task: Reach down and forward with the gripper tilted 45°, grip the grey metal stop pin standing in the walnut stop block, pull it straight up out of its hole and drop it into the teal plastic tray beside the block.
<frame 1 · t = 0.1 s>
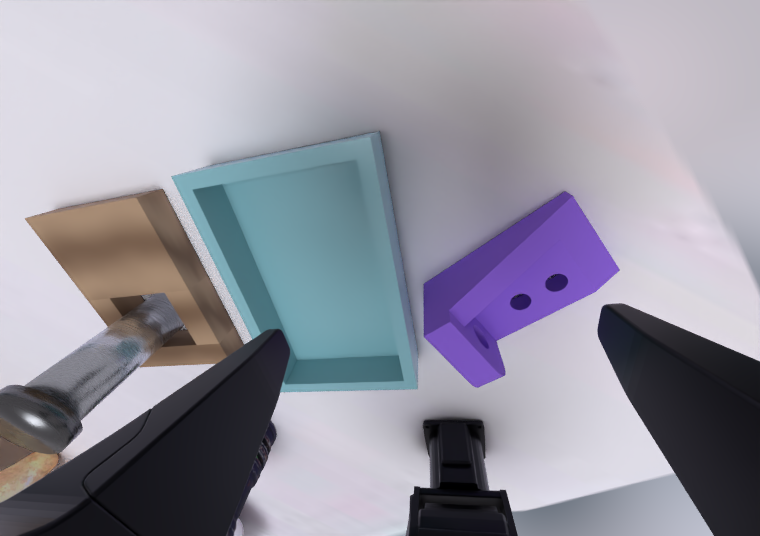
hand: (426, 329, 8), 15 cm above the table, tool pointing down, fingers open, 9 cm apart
tray: (327, 272, 25), on the table
stop pin: (115, 353, 24), in the stop block
bracket: (509, 270, 24), on the table
decorative bowl: (6, 452, 53), on the table
storage jar: (241, 424, 39), on the table
stop block: (173, 306, 30), on the table
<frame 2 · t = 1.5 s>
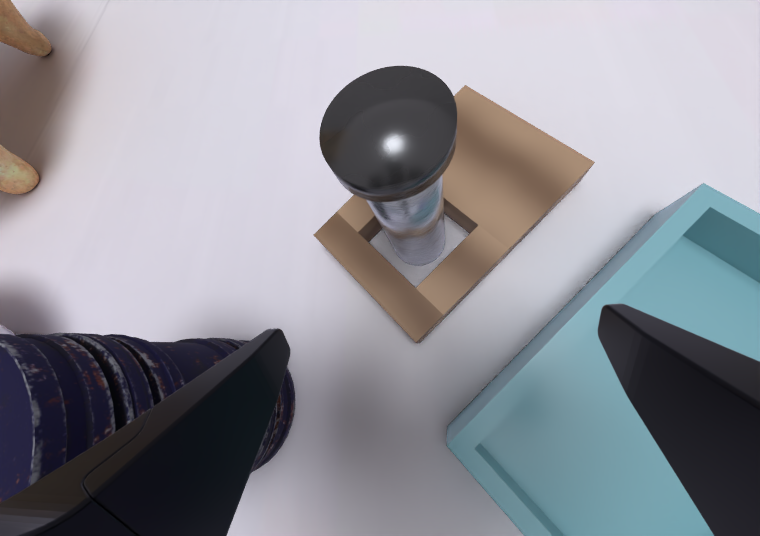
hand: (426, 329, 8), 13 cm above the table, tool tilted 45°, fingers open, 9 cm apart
tray: (647, 397, 18), on the table
stop pin: (408, 203, 17), in the stop block
decorative bowl: (6, 139, 40), on the table
storage jar: (240, 403, 23), on the table
stop block: (418, 240, 23), on the table
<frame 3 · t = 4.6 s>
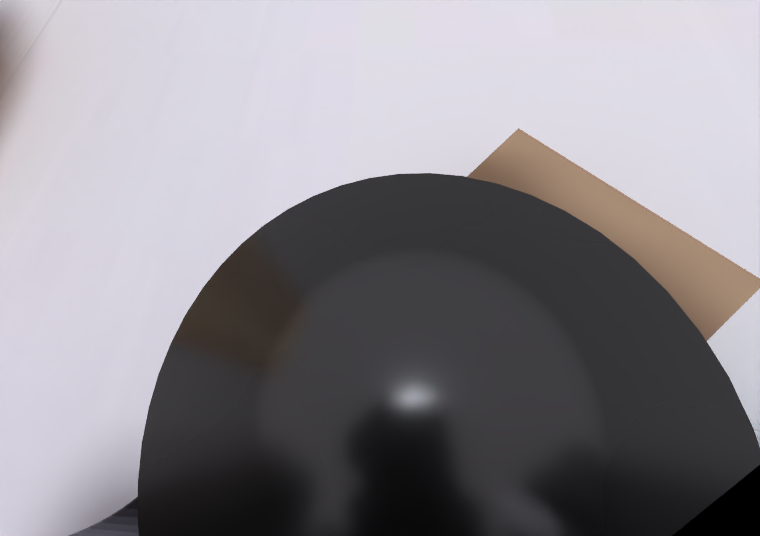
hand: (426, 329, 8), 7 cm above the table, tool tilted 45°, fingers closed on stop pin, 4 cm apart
stop pin: (431, 379, 9), in the stop block, touching gripper
stop block: (439, 369, 15), on the table
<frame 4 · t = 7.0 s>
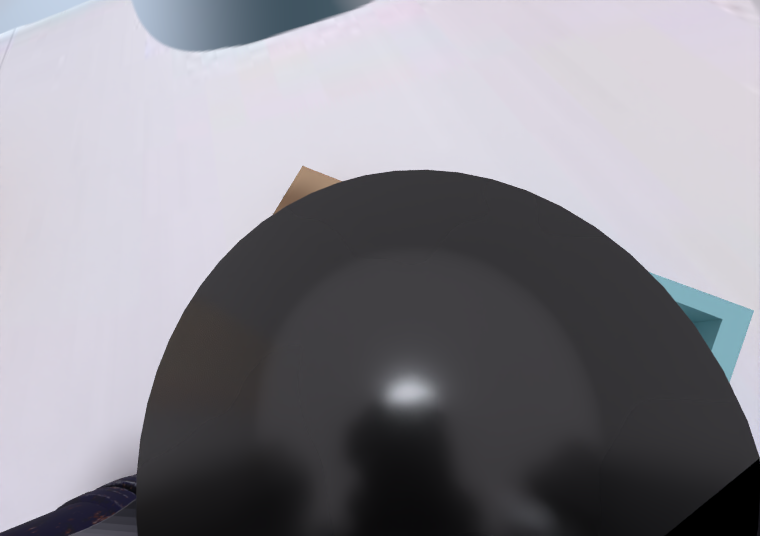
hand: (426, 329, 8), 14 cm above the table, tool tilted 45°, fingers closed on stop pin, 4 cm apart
tray: (519, 410, 19), on the table
stop pin: (431, 377, 9), point 13 cm above the table, touching gripper
stop block: (300, 315, 24), on the table
when the fingers open (10 cm above the table, at t = 8.5 s): stop pin drops 2 cm, resting on tray.
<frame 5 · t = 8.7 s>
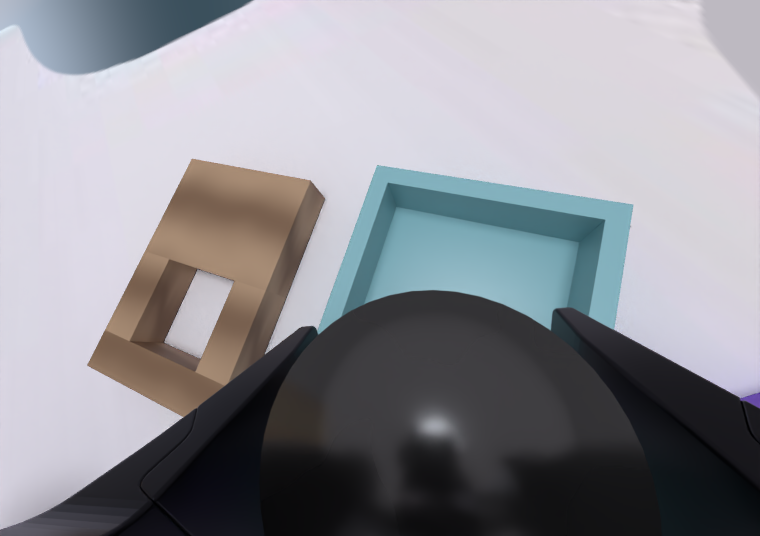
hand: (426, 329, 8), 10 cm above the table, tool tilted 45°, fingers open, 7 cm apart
tray: (441, 367, 17), on the table
stop pin: (439, 391, 10), in the tray, point 8 cm above the table
stop block: (209, 315, 22), on the table
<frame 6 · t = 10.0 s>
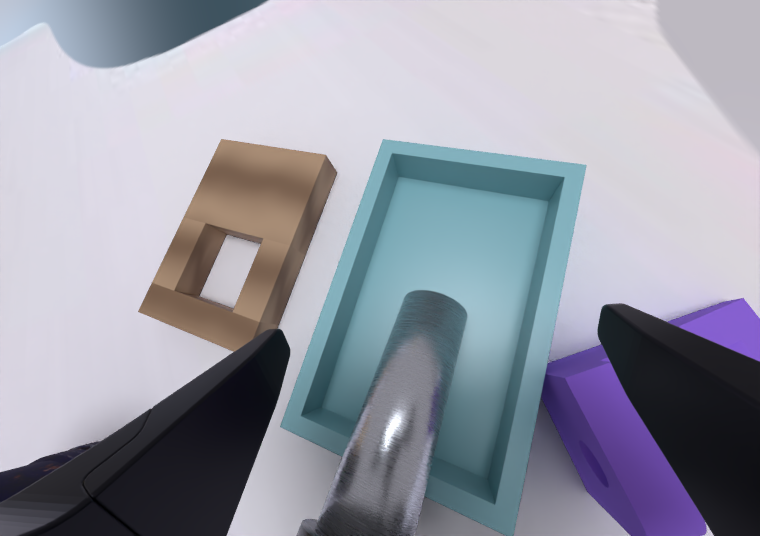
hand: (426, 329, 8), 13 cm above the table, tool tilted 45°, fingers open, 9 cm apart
tray: (436, 305, 21), on the table
stop pin: (400, 417, 15), resting on tray, tilted 69°
bracket: (652, 393, 18), on the table
storage jar: (131, 502, 23), on the table
stop block: (239, 272, 26), on the table
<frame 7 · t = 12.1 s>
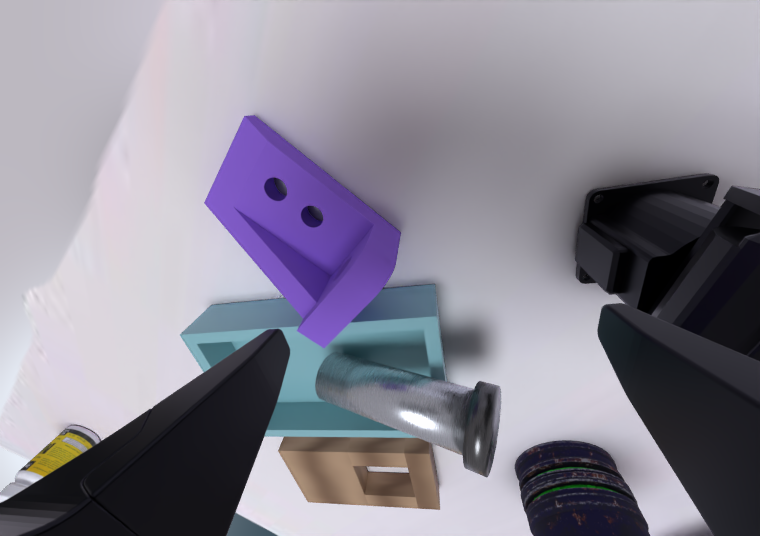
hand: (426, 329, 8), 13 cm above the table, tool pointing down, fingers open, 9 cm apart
tray: (334, 352, 28), on the table
stop pin: (400, 398, 22), resting on tray, tilted 69°
bracket: (309, 212, 22), on the table
supplement bottle: (86, 433, 42), on the table
storage jar: (561, 465, 32), on the table
stop block: (387, 458, 35), on the table
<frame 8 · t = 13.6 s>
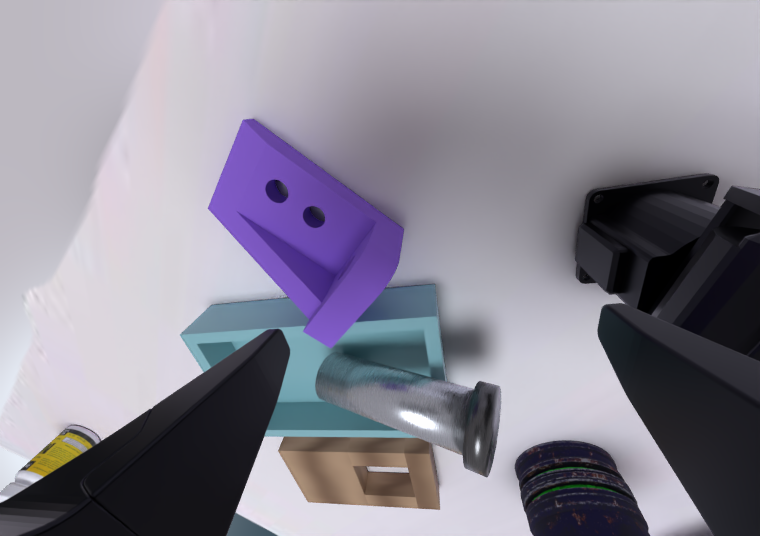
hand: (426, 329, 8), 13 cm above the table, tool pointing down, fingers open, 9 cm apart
tray: (334, 352, 28), on the table
stop pin: (400, 398, 22), resting on tray, tilted 69°
bracket: (311, 213, 22), on the table
supplement bottle: (86, 433, 42), on the table
storage jar: (561, 465, 32), on the table
stop block: (387, 458, 35), on the table
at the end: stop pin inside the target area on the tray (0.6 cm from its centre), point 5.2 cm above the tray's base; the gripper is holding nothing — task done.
